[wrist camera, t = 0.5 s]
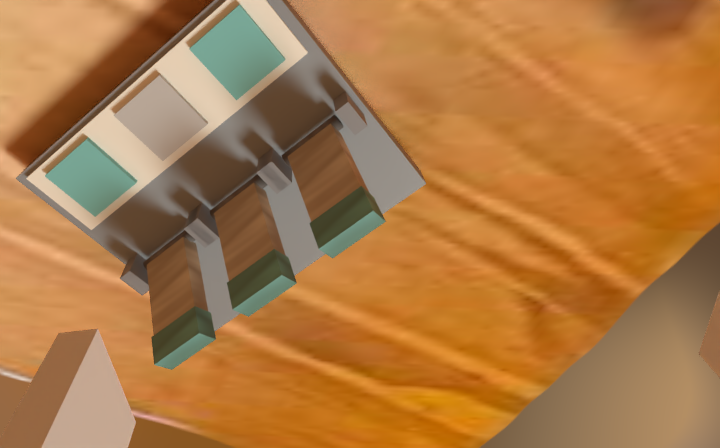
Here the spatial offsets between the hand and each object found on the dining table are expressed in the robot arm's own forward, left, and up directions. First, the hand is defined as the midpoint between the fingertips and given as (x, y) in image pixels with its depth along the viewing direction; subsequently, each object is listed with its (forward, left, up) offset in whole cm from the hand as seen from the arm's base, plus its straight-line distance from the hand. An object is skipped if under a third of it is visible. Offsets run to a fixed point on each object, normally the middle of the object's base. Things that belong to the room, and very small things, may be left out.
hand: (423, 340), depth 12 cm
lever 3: (+3, -5, -25) cm, 26 cm away
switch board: (+2, -11, -28) cm, 30 cm away
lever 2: (+3, -11, -25) cm, 28 cm away
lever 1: (+3, -18, -25) cm, 31 cm away
